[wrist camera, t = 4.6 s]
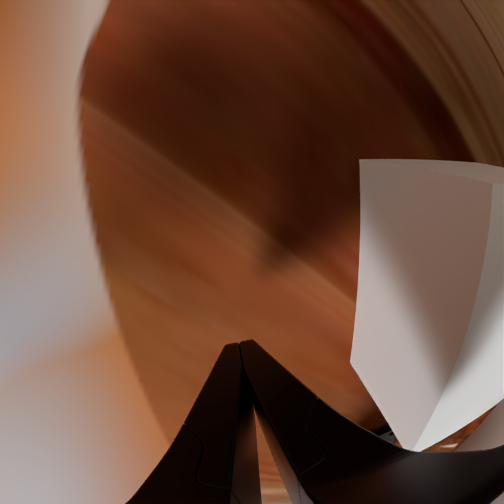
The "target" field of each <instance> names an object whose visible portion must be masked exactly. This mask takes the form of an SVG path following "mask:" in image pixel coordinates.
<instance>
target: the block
mask: <svg viewBox="0 0 504 504" xmlns="http://www.w3.org/2000/svg"><path fill="white" fill-rule="evenodd" d="M359 167H360V256H359V276H358V291H357V304H356V316H355V326H354V335H353V344H352V352H351V359H350V363H351V365H352V366H353V368H354V369H355V371H356V373H357V374H358V376H359V377H360V379H361V380H362V382H363V384H364V385H365V387H366V388H367V390H368V392H369V393H370V395H371V396H372V398H373V400H374V401H375V403H376V405H377V406H378V408H379V409H380V411H381V413H382V414H383V416H384V418H385V419H386V421H387V422H388V424H389V426H390V427H391V429H392V431H393V432H394V434H395V436H396V437H397V439H398V441H399V442H400V444H401V446H402V447H403V448H404V449H407V450H411V451H417V452H420V451H422V450H424V449H426V448H428V447H429V446H431V445H433V444H435V443H437V442H439V441H440V440H442V439H444V438H446V437H447V436H449V435H451V434H452V433H454V432H456V431H457V430H459V429H461V428H462V427H464V426H465V425H467V424H468V423H470V422H472V421H473V420H475V419H476V418H478V417H479V416H480V415H482V414H483V413H485V412H486V411H487V410H489V409H490V408H492V407H493V406H494V405H496V404H497V403H498V402H500V401H501V400H502V399H503V398H504V168H503V167H498V166H493V165H488V164H482V163H475V162H461V161H444V160H419V159H359Z"/></svg>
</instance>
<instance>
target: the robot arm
mask: <svg viewBox="0 0 504 504" xmlns="http://www.w3.org/2000/svg"><path fill="white" fill-rule="evenodd" d="M253 405H254V407H253ZM254 409H255V412H256V415H257V418H258V420H259V423H260V426H261V428H262V431H263V433H264V436H265V438H266V441H267V443H268V446H269V448H270V451H271V453H272V456H273V458H274V461H275V463H276V465H277V468H278V470H279V473H280V475H281V477H282V480H283V482H284V484H285V487H286V489H287V491H288V493H289V496H290V498H291V500H292V502H293V504H504V445H502V446H499V447H496V448H493V449H487V450H477V451H463V452H417V451H411V450H407V449H404V448H401V447H399V446H397V445H395V444H393V443H394V441H395V438H396V436H395V434H394V432H393V431H392V429H391V427H390V426H389V427H387V428H384V429H382V430H379V431H377V432H374V433H372V432H370V431H368V430H367V429H365V428H363V427H361V426H359V425H358V424H356V423H354V422H353V421H351V420H350V419H348V418H346V417H345V416H343V415H342V414H340V413H339V412H338V411H336V410H335V409H333V408H332V407H331V406H329V405H328V404H327V403H326V402H325V401H323V400H322V399H321V398H319V397H318V396H317V395H316V394H315V393H314V392H312V391H311V390H310V389H309V388H308V387H306V386H305V385H304V384H303V383H302V382H301V381H299V380H298V379H297V378H296V377H295V376H294V375H292V374H291V373H290V372H289V371H288V370H287V369H286V368H284V367H283V366H282V365H281V364H280V363H279V362H278V361H276V360H275V359H274V358H273V357H272V356H271V355H270V354H269V353H267V352H266V351H265V350H264V349H263V348H262V347H261V346H260V345H259V344H258V343H256V342H255V341H254V340H252V339H251V340H246V341H241V342H240V344H239V343H231V344H227V345H225V346H224V348H223V350H222V352H221V354H220V355H219V357H218V359H217V361H216V363H215V365H214V367H213V369H212V371H211V373H210V375H209V376H208V378H207V380H206V382H205V384H204V386H203V388H202V390H201V392H200V393H199V395H198V397H197V399H196V401H195V403H194V405H193V407H192V408H191V410H190V412H189V414H188V416H187V418H186V420H185V421H184V424H183V425H182V427H181V429H180V430H179V432H178V434H177V436H176V437H175V439H174V441H173V443H172V444H171V446H170V448H169V449H168V451H167V452H166V453H165V455H164V456H163V458H162V459H161V461H160V462H159V463H158V465H157V466H156V467H155V469H154V470H153V471H152V473H151V474H150V475H149V477H148V478H147V479H146V480H145V482H144V483H143V484H142V485H141V487H140V488H139V489H138V491H137V492H136V493H135V494H134V495H133V497H132V498H131V499H130V500H129V501H128V502H127V503H126V504H262V502H261V490H260V478H259V465H258V452H257V439H256V426H255V414H254Z"/></svg>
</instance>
